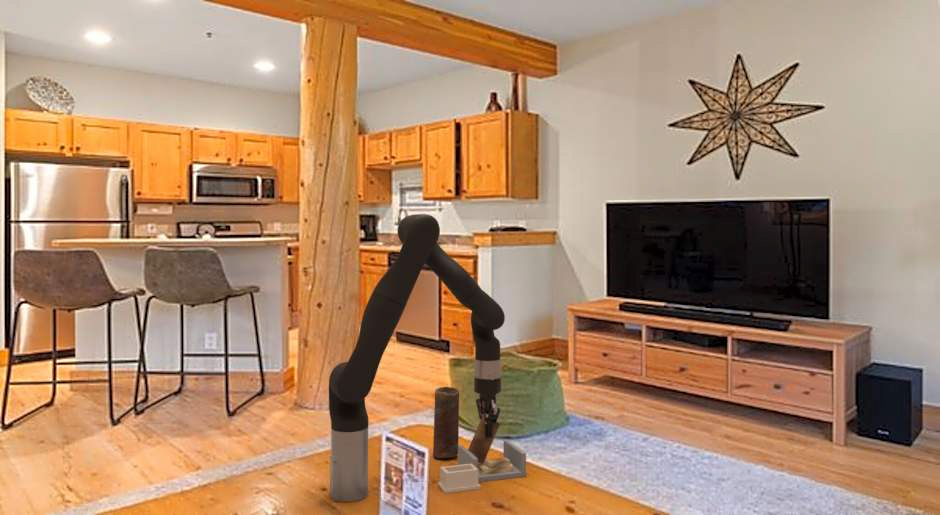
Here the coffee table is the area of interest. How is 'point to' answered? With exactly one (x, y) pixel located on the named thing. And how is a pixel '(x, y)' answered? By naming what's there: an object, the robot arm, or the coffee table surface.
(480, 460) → the slat
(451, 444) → the brown log
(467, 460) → the rack
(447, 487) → the holder
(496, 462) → the offcut short
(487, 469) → the block
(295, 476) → the coffee table surface
